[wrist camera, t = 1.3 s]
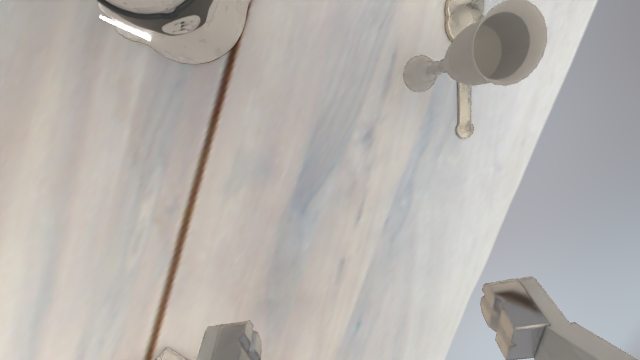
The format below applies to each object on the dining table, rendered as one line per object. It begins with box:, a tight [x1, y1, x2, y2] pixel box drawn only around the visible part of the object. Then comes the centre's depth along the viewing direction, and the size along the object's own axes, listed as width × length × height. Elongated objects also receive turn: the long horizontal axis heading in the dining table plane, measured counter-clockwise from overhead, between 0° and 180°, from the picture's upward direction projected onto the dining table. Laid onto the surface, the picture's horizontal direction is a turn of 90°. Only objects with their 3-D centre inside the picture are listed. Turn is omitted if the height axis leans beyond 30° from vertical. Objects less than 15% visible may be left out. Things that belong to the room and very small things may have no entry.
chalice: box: [403, 0, 547, 92], centre depth 35 cm, size 7×7×18 cm
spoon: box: [445, 0, 484, 138], centre depth 44 cm, size 21×5×1 cm, turn 6°
